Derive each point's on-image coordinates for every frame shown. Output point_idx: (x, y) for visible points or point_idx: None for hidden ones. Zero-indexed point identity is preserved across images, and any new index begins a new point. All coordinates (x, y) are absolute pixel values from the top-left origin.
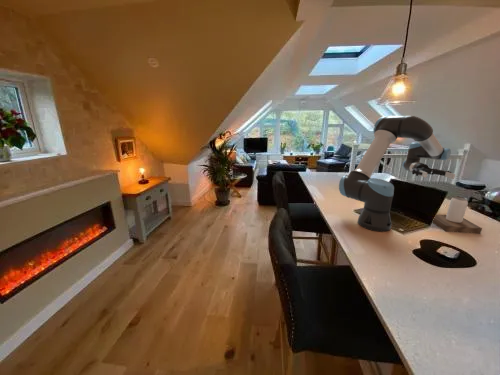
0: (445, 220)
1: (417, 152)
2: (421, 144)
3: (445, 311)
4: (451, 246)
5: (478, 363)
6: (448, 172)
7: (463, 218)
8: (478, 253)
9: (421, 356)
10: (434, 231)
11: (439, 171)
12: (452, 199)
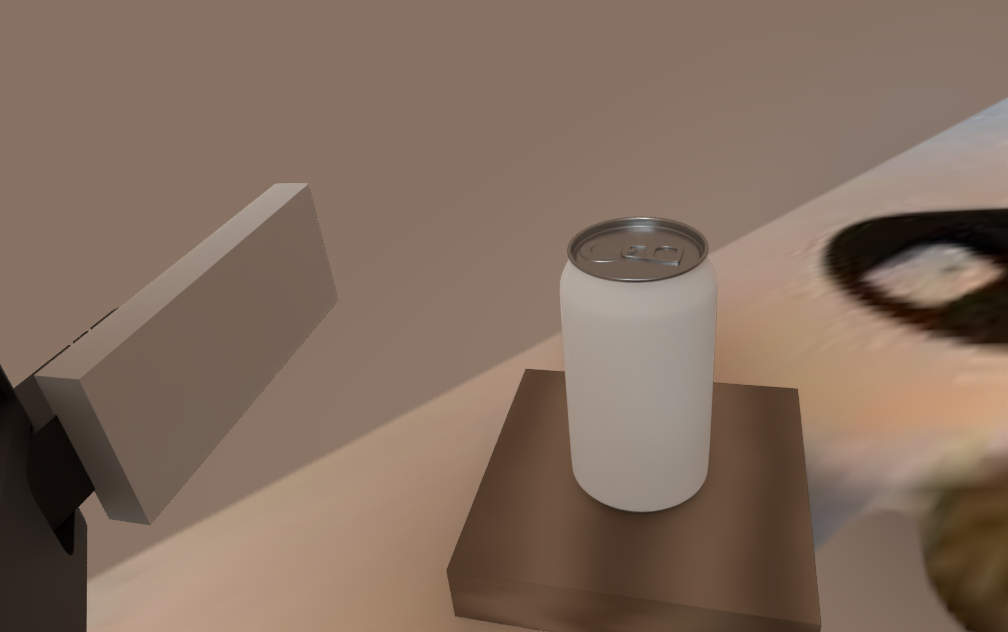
0: (727, 469)
1: None
2: None
3: None
4: (878, 303)
5: None
6: (150, 307)
7: (482, 506)
8: (765, 270)
9: None
10: (891, 432)
11: (5, 620)
12: (710, 272)
